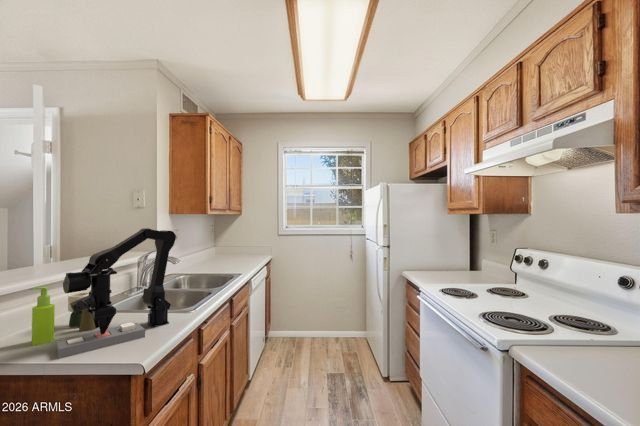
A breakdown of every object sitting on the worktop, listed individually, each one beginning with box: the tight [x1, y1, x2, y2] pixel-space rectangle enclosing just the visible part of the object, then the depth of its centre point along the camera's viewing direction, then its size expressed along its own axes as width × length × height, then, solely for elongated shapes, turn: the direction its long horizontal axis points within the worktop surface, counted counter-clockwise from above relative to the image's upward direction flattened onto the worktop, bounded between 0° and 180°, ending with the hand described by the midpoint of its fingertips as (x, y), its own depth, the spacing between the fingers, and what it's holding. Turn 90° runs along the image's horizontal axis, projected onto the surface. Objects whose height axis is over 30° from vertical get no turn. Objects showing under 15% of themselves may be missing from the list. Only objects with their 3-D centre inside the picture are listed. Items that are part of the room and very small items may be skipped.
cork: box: [78, 309, 97, 332], centre depth 119 cm, size 6×6×11 cm
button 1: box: [67, 337, 84, 345], centre depth 100 cm, size 4×4×3 cm
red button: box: [95, 332, 111, 338], centre depth 105 cm, size 4×4×3 cm
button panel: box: [55, 322, 146, 360], centre depth 105 cm, size 24×10×4 cm, turn 136°
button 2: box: [119, 322, 135, 332], centre depth 111 cm, size 4×4×3 cm
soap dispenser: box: [29, 286, 56, 346], centre depth 107 cm, size 6×7×20 cm
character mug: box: [67, 292, 89, 328], centre depth 124 cm, size 11×7×13 cm, turn 51°
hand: (100, 330), depth 109 cm, fingers open, 9 cm apart
